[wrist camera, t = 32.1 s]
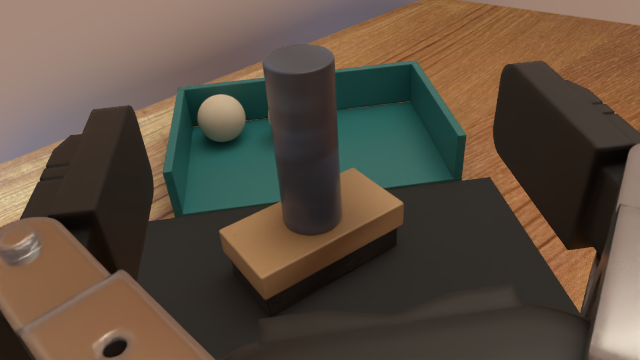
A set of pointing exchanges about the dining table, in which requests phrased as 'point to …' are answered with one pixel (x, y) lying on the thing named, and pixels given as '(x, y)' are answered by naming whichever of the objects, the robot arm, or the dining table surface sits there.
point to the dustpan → (353, 135)
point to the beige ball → (221, 118)
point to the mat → (364, 281)
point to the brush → (308, 192)
